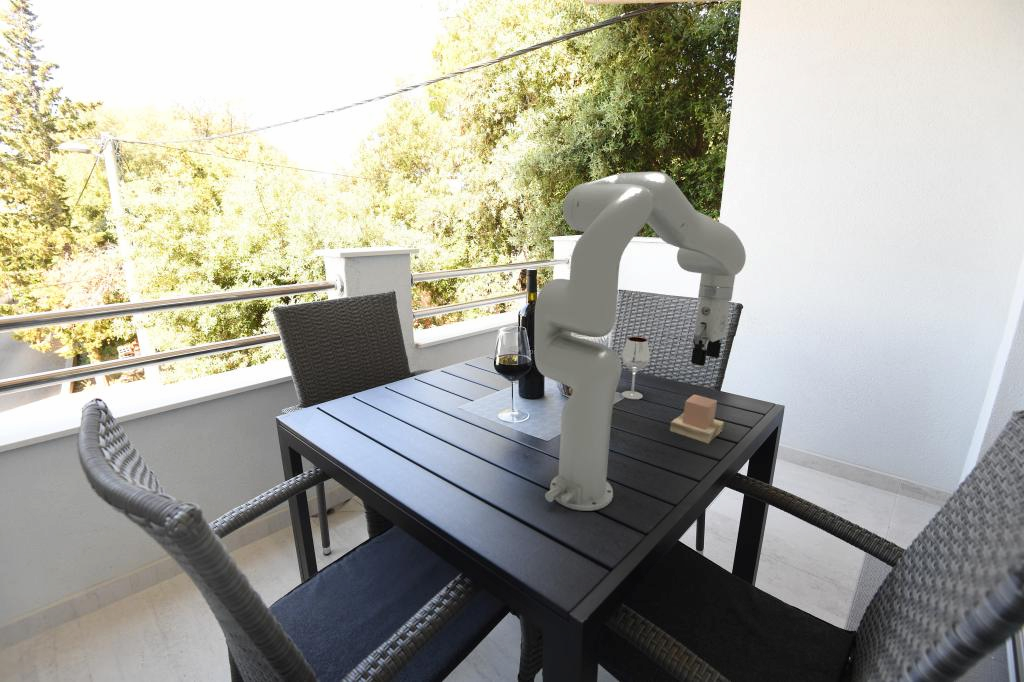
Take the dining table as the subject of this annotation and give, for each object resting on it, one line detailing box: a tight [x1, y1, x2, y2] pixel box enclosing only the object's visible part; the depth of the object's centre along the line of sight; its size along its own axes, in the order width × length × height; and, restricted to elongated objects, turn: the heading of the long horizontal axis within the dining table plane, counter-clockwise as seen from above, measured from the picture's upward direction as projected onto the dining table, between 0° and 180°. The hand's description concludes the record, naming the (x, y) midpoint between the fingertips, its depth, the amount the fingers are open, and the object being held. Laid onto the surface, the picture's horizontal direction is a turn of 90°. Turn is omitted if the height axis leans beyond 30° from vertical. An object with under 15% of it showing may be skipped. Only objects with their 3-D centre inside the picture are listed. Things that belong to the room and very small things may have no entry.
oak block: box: [669, 412, 725, 444], centre depth 126 cm, size 10×10×3 cm
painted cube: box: [683, 394, 718, 430], centre depth 125 cm, size 6×6×6 cm
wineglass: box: [621, 336, 651, 400], centre depth 147 cm, size 8×8×18 cm
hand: (705, 360), depth 121 cm, fingers open, 9 cm apart
